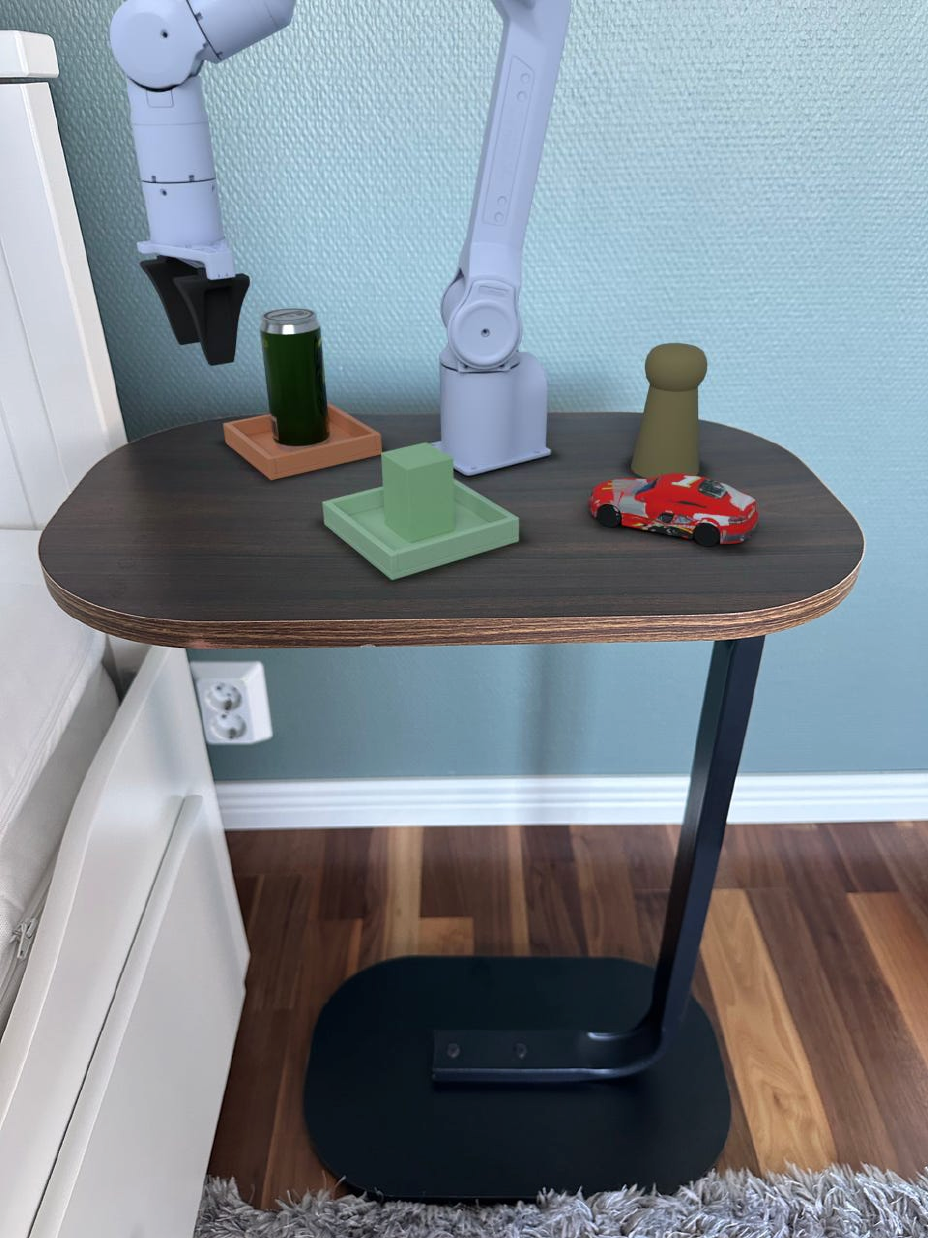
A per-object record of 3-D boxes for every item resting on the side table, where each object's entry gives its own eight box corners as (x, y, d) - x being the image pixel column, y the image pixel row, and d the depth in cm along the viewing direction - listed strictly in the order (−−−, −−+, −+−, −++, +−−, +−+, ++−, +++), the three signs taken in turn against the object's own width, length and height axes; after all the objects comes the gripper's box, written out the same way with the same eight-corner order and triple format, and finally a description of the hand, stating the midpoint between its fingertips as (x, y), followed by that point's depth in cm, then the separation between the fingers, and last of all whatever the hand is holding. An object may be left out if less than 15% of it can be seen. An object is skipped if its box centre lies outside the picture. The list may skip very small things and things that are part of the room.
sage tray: (442, 492, 81) (442, 470, 80) (519, 541, 73) (519, 517, 72) (324, 524, 76) (321, 501, 75) (392, 580, 68) (390, 555, 67)
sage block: (428, 512, 76) (426, 441, 73) (454, 530, 73) (453, 457, 70) (384, 524, 75) (380, 452, 71) (410, 543, 72) (406, 469, 69)
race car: (577, 522, 76) (580, 476, 74) (602, 498, 80) (605, 453, 78) (742, 557, 70) (750, 507, 68) (760, 528, 74) (768, 481, 72)
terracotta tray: (330, 420, 97) (328, 401, 96) (382, 454, 89) (381, 433, 88) (225, 442, 92) (222, 423, 91) (271, 480, 84) (268, 459, 83)
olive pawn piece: (683, 487, 81) (699, 359, 76) (619, 472, 84) (629, 349, 79) (709, 464, 86) (725, 342, 80) (647, 451, 89) (658, 332, 83)
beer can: (288, 458, 87) (273, 325, 80) (264, 441, 91) (248, 312, 84) (340, 446, 89) (329, 316, 83) (315, 429, 93) (303, 304, 87)
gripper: (102, 174, 77) (134, 341, 84) (156, 192, 67) (187, 381, 74) (186, 168, 81) (210, 329, 88) (250, 185, 70) (271, 366, 77)
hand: (205, 352), depth 81 cm, fingers open, 7 cm apart
